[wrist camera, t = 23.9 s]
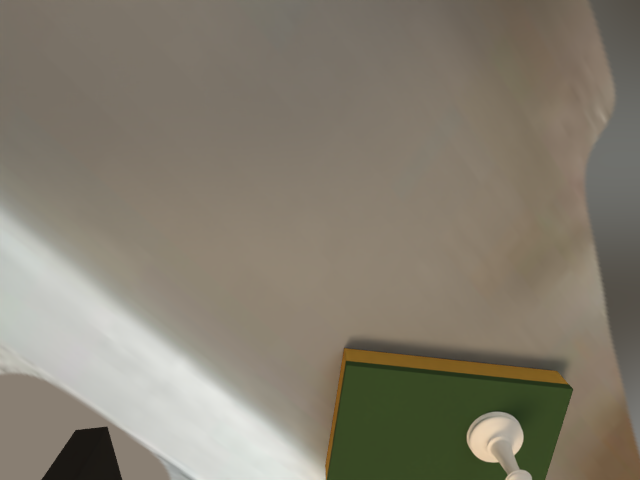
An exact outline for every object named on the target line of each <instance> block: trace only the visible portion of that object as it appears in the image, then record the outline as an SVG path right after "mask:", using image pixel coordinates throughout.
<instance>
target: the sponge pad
mask: <svg viewBox="0 0 640 480" xmlns="http://www.w3.org/2000/svg"><path fill="white" fill-rule="evenodd" d="M572 391H573V388H572V387H571V386H570V385H569V384H568V383H567V382H566V381H565V380H564V378H563V377H562V376H561V375H560V374H559V373H558V372H557V371H551V370H542V369H533V368H523V367H514V366H505V365H495V364H486V363H477V362H468V361H458V360H449V359H440V358H430V357H421V356H412V355H403V354H393V353H384V352H375V351H365V350H356V349H347V348H344V353H343V359H342V365H341V371H340V378H339V384H338V390H337V396H336V403H335V409H334V415H333V422H332V428H331V434H330V440H329V447H328V453H327V459H326V465H325V468H326V480H505V479H506V477H507V475H508V474H507V473H506V471H505V470H504V469H503V467H502V466H501V464H500V463H499V462H495V463H492V462H486V461H483V460H481V459H479V458H478V457H476V456H475V455H474V454H473V452H472V451H471V449H470V448H469V446H468V444H467V432H468V429H469V427H470V425H471V424H472V423H473V422H474V421H475V420H476V419H477V418H478V417H480V416H482V415H484V414H486V413H490V412H504V413H508V414H510V415H512V416H513V417H515V418H516V419H517V420H518V422H519V423H520V426H521V428H522V431H523V443H522V446H521V448H520V449H519V451H518V452H517V453H516V454H515V455H514V456H515V459H516V462H517V464H518V467H519V469H520V470H525V471H527V472H529V473H530V475H531V477H532V480H545V478H546V475H547V472H548V468H549V465H550V462H551V459H552V456H553V452H554V449H555V446H556V443H557V440H558V436H559V433H560V430H561V427H562V424H563V420H564V417H565V414H566V411H567V407H568V404H569V401H570V398H571V395H572Z"/></svg>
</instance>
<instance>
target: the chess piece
mask: <svg viewBox="0 0 640 480" xmlns="http://www.w3.org/2000/svg"><path fill="white" fill-rule="evenodd" d="M522 443H523V431H522V428H521V426H520V423H519V422H518V420H517V419H516V418H515V417H513V416H512V415H510V414H508V413H504V412H490V413H486V414H484V415H482V416H480V417H478V418H477V419H476V420H475V421H474V422H473V423H472V424H471V425H470V427H469V429H468V432H467V444H468V446H469V448H470V449H471V451H472V452H473V454H474V455H475V456H476V457H478V458H479V459H481V460H483V461H486V462H492V463H495V462H499V463H500V464H501V466H502V467H503V469H504V470H505V471H506V473H507V474H508V475H507V477H506V479H505V480H532V477H531V475H530V473H529V472H527V471H525V470H520V469H519V467H518V464H517V462H516V459H515V456H514V455H515V454H516V453H517V452H518V451H519V449H520V448H521V446H522Z"/></svg>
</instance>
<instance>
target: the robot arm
mask: <svg viewBox="0 0 640 480" xmlns="http://www.w3.org/2000/svg"><path fill="white" fill-rule="evenodd" d="M42 480H122V477H121V474H120V471H119V467H118V463H117V459H116V456H115V452H114V449H113V445H112V442H111V438H110V435H109V431H108V428H107V427H100V428H91V429H82V430H76V431H75V432H74V433H73V435H72V437H71V438H70V439H69V441H68V442H67V444H66V445H65V447H64V448H63V450H62V451H61V453H60V454H59V455H58V457H57V458H56V460H55V461H54V463H53V464H52V465H51V467H50V468H49V470H48V471H47V473H46V474H45V476H44V477H43V478H42Z"/></svg>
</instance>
